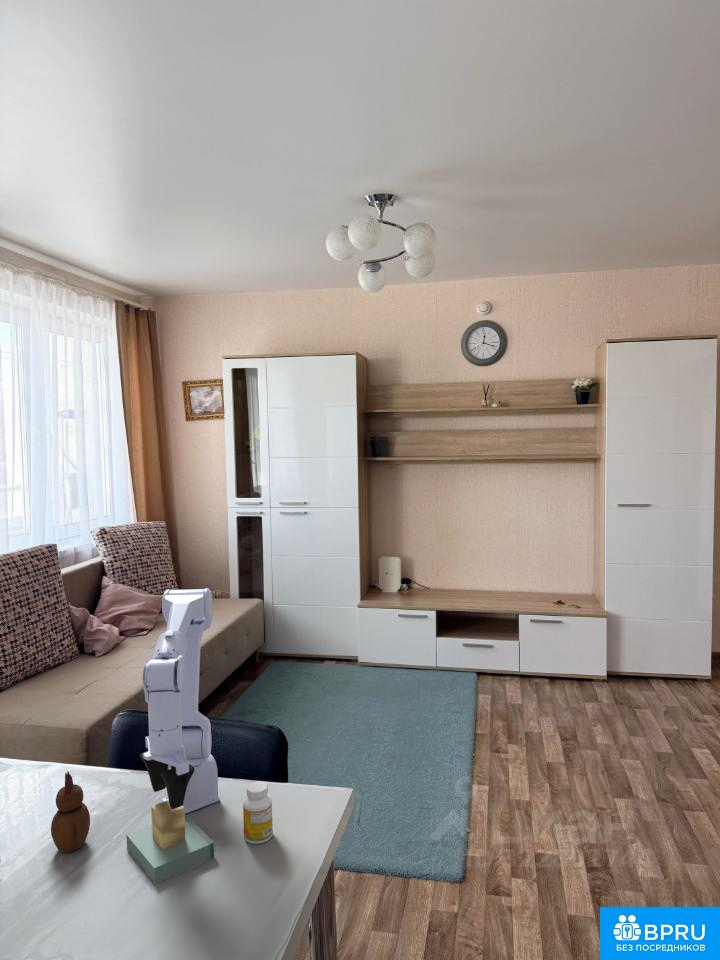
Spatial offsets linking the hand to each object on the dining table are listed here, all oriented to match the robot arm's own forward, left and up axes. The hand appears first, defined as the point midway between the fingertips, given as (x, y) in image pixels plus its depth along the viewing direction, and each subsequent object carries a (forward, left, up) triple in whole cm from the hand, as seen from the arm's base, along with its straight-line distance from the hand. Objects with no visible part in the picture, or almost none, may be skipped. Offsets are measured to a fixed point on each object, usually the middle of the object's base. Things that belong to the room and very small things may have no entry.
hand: (167, 798), depth 123 cm
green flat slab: (0, 0, -11) cm, 11 cm away
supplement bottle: (-15, +6, -11) cm, 19 cm away
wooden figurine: (+13, -14, -11) cm, 22 cm away
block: (0, 0, -8) cm, 8 cm away
